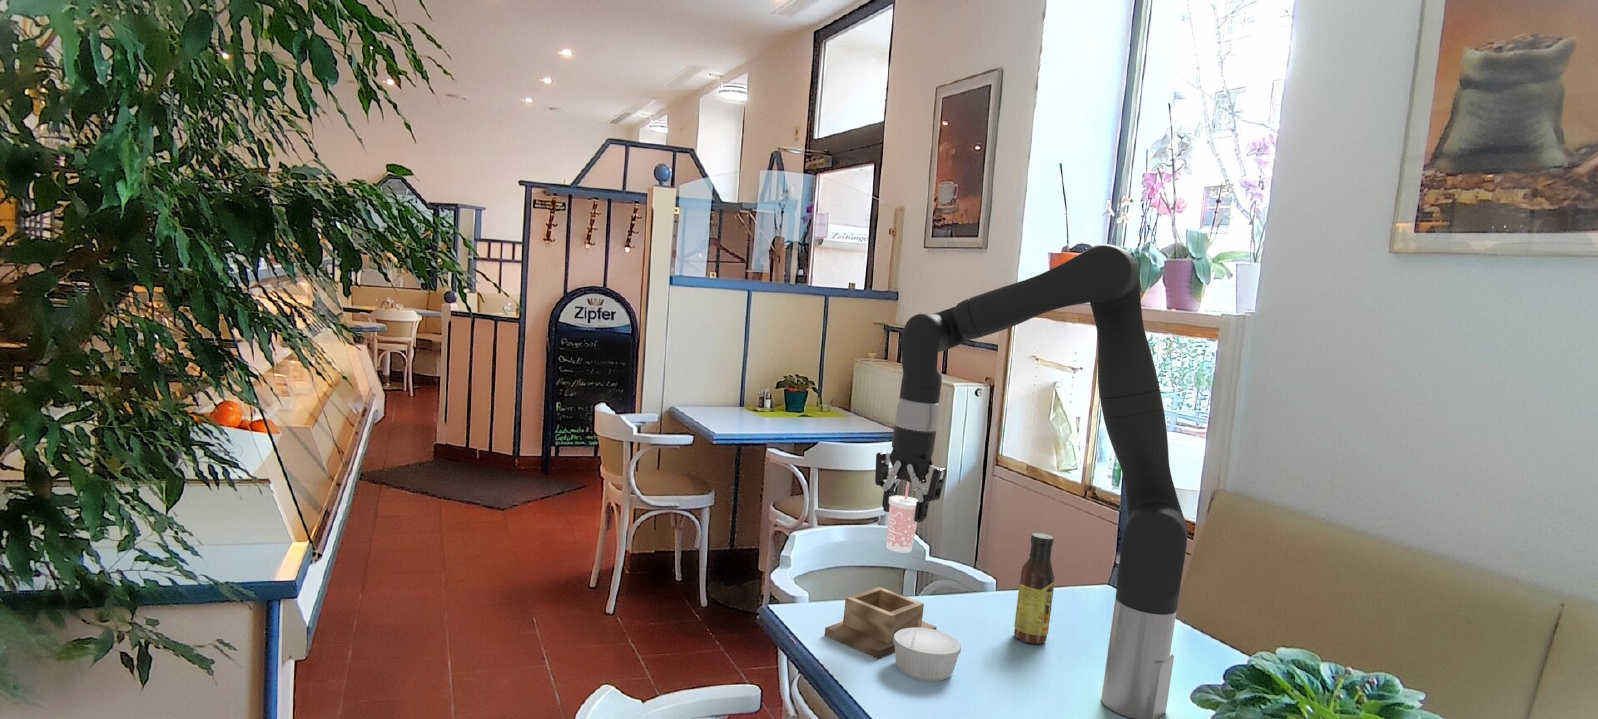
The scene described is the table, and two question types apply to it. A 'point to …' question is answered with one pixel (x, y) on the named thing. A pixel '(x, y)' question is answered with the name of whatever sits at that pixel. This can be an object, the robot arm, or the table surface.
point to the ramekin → (926, 653)
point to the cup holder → (876, 621)
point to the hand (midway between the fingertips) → (903, 516)
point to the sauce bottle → (1035, 592)
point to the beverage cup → (901, 522)
